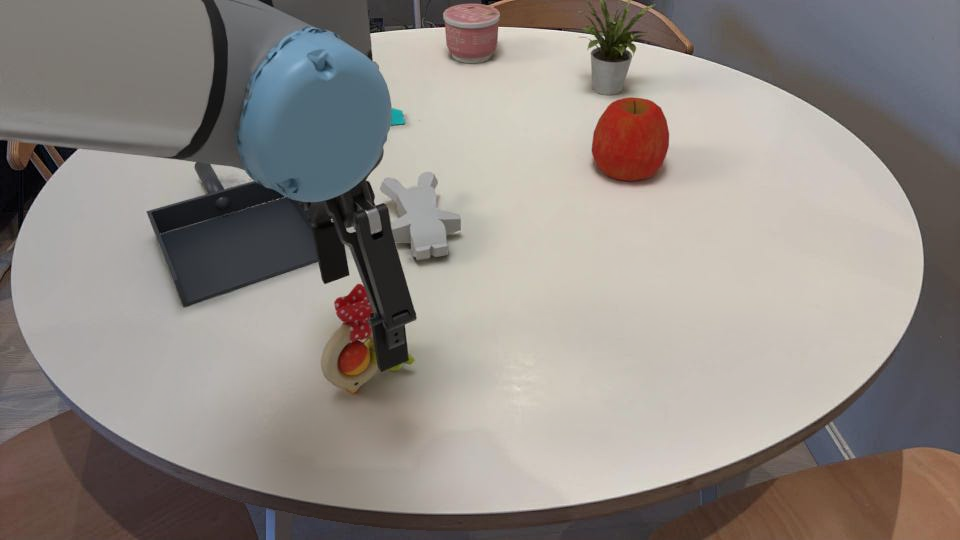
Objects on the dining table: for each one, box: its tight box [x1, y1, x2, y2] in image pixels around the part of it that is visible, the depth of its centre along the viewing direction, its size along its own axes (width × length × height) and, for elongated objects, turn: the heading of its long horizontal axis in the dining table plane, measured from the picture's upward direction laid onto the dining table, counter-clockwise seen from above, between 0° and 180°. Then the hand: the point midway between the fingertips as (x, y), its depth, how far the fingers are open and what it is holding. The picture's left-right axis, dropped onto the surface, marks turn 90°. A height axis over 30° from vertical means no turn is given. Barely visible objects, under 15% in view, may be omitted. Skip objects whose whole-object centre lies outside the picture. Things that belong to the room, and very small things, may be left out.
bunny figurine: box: [379, 171, 462, 261], centre depth 90 cm, size 10×5×15 cm
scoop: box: [146, 162, 318, 308], centre depth 91 cm, size 27×18×4 cm
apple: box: [591, 96, 670, 182], centre depth 99 cm, size 11×11×11 cm
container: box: [442, 3, 501, 64], centre depth 131 cm, size 10×10×8 cm
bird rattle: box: [320, 283, 416, 394], centre depth 68 cm, size 6×11×9 cm
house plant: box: [577, 0, 658, 96], centre depth 118 cm, size 14×14×16 cm
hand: (362, 318), depth 66 cm, fingers open, 13 cm apart
